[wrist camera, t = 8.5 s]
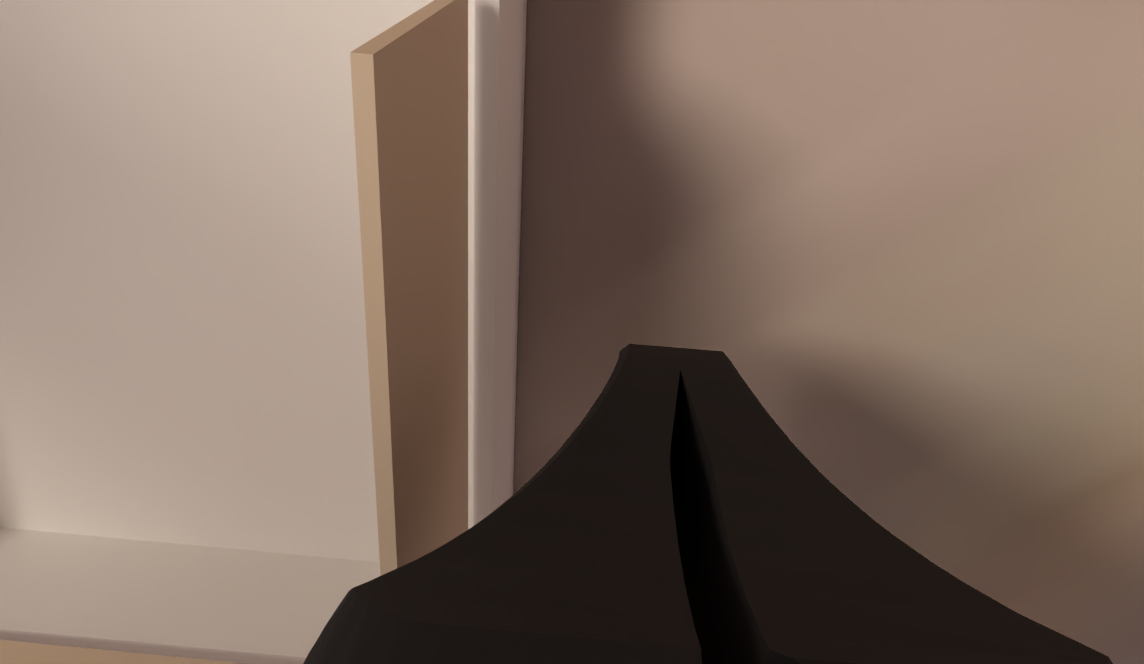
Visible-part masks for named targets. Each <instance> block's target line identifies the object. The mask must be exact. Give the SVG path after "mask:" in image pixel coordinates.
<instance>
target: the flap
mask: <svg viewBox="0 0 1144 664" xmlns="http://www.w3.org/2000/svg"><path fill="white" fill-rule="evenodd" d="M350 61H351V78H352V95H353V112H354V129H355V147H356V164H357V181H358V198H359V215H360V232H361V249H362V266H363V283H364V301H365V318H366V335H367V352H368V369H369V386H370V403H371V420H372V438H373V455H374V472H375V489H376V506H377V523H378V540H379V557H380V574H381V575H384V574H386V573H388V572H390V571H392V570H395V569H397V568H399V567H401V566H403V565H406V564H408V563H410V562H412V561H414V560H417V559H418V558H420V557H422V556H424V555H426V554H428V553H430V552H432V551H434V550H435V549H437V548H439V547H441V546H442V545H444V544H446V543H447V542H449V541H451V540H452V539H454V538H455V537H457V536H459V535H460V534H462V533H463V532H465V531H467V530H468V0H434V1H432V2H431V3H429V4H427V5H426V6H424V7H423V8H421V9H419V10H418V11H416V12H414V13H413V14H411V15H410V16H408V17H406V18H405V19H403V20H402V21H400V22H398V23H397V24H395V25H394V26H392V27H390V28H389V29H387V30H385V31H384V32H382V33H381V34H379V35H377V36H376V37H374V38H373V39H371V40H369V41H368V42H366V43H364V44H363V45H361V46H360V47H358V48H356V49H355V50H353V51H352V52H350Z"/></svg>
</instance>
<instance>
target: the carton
mask: <svg viewBox="0 0 1144 664" xmlns="http://www.w3.org/2000/svg"><path fill="white" fill-rule="evenodd" d="M432 1H434V0H0V640H7V641H17V642H28V643H38V644H48V645H59V646H69V647H80V648H90V649H100V650H111V651H121V652H132V653H142V654H152V655H163V656H173V657H184V658H194V659H204V660H215V661H225V662H236V663H246V664H303V663H304V661H305V659H306V657H307V656H308V654H309V652H310V650H311V649H312V647H313V646H314V644H315V642H316V641H317V639H318V637H319V636H320V634H321V632H322V630H323V629H324V627H325V625H326V624H327V622H328V621H329V619H330V618H331V616H332V615H333V613H334V612H335V610H336V609H337V607H338V606H339V604H340V603H341V601H342V600H343V598H344V597H345V596H346V594H347V593H348V591H349V590H351V589H352V588H353V587H356V586H358V585H361V584H363V583H366V582H368V581H371V580H373V579H375V578H377V577H379V576H381V574H380V557H379V540H378V523H377V506H376V489H375V472H374V455H373V438H372V420H371V403H370V386H369V369H368V352H367V335H366V318H365V301H364V283H363V266H362V249H361V232H360V215H359V198H358V181H357V164H356V147H355V129H354V112H353V95H352V78H351V61H350V52H352V51H353V50H355V49H356V48H358V47H360V46H361V45H363V44H364V43H366V42H368V41H369V40H371V39H373V38H374V37H376V36H377V35H379V34H381V33H382V32H384V31H385V30H387V29H389V28H390V27H392V26H394V25H395V24H397V23H398V22H400V21H402V20H403V19H405V18H406V17H408V16H410V15H411V14H413V13H414V12H416V11H418V10H419V9H421V8H423V7H424V6H426V5H427V4H429V3H431V2H432ZM526 13H527V0H468V529H470V528H471V527H473V526H474V525H476V524H477V523H478V522H480V521H481V520H483V519H484V518H485V517H487V516H488V515H489V514H491V513H492V512H493V511H494V510H496V509H497V508H498V507H499V506H500V505H502V504H503V503H504V502H505V501H506V500H508V499H509V498H510V497H511V496H513V476H514V440H515V405H516V369H517V334H518V298H519V262H520V227H521V191H522V156H523V120H524V84H525V49H526Z"/></svg>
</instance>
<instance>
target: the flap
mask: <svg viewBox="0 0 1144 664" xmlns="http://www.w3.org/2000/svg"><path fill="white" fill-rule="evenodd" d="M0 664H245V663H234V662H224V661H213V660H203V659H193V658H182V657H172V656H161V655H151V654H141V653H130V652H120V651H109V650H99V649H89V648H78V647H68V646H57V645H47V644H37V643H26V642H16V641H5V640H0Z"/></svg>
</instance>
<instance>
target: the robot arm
mask: <svg viewBox="0 0 1144 664" xmlns="http://www.w3.org/2000/svg"><path fill="white" fill-rule="evenodd" d="M303 664H1113V663H1112V662H1111V660H1110V659H1109V657H1108V656H1106V655H1103V654H1101V653H1099V652H1097V651H1095V650H1093V649H1091V648H1089V647H1087V646H1085V645H1083V644H1081V643H1078V642H1076V641H1074V640H1072V639H1070V638H1068V637H1066V636H1064V635H1062V634H1060V633H1058V632H1055V631H1053V630H1051V629H1049V628H1047V627H1045V626H1043V625H1041V624H1039V623H1037V622H1035V621H1033V620H1030V619H1028V618H1026V617H1024V616H1022V615H1020V614H1018V613H1016V612H1015V611H1013V610H1011V609H1009V608H1007V607H1005V606H1004V605H1002V604H1000V603H998V602H997V601H995V600H993V599H992V598H990V597H988V596H986V595H985V594H983V593H981V592H979V591H978V590H976V589H974V588H972V587H971V586H969V585H967V584H965V583H964V582H962V581H960V580H959V579H957V578H956V577H954V576H952V575H951V574H949V573H948V572H946V571H945V570H943V569H941V568H940V567H938V566H937V565H935V564H934V563H932V562H931V561H929V560H928V559H926V558H925V557H923V556H922V555H921V554H919V553H918V552H916V551H915V550H914V549H912V548H911V547H909V546H908V545H906V544H905V543H904V542H902V541H901V540H899V539H898V538H896V537H895V536H894V535H892V534H891V533H890V532H888V531H887V530H886V529H884V528H883V527H882V526H881V525H879V524H878V523H877V522H875V521H874V520H873V519H872V518H870V517H869V516H868V515H867V514H866V513H865V512H863V511H862V510H861V509H860V508H859V507H858V506H856V505H855V504H854V503H853V502H852V501H851V500H849V499H848V498H847V497H846V496H845V495H844V494H842V493H841V492H840V491H839V490H838V489H837V488H836V487H835V486H834V485H833V484H832V483H830V482H829V481H828V480H827V479H826V478H825V477H824V476H823V475H822V474H821V473H820V472H819V471H818V470H817V469H816V468H815V467H814V466H813V465H812V464H811V462H810V461H809V460H808V459H807V458H806V457H805V456H804V455H803V454H802V453H801V452H800V451H799V450H798V449H797V448H796V447H795V445H794V444H793V443H792V442H791V441H790V440H789V438H788V437H787V436H786V435H785V433H784V432H783V431H782V430H781V429H780V427H779V426H778V425H777V424H776V423H775V421H774V420H773V419H772V418H771V416H770V415H769V414H768V413H767V411H766V410H765V409H764V407H763V406H762V405H761V403H760V402H759V401H758V399H757V398H756V397H755V395H754V394H753V393H752V391H751V390H750V388H749V387H748V386H747V384H746V383H745V381H744V380H743V379H742V377H741V376H740V374H739V373H738V371H737V370H736V368H735V367H734V366H733V364H732V363H731V361H730V360H729V359H728V357H727V356H726V355H725V354H724V352H721V351H709V350H697V349H684V348H672V347H660V346H647V345H635V344H629V345H628V346H626V347H625V348H624V349H622V350H621V351H620V354H619V359H618V361H617V364H616V367H615V369H614V371H613V373H612V375H611V377H610V379H609V381H608V382H607V384H606V386H605V388H604V390H603V391H602V393H601V394H600V396H599V397H598V399H597V400H596V402H595V403H594V405H593V406H592V408H591V409H590V411H589V412H588V414H587V415H586V417H585V418H584V419H583V421H582V422H581V424H580V425H579V426H578V427H577V428H576V430H575V431H574V432H573V433H572V435H571V436H570V437H569V438H568V439H567V441H566V442H565V443H564V444H563V446H562V447H561V448H560V449H559V451H558V452H557V453H556V454H555V455H554V456H553V457H552V458H551V459H550V460H549V461H548V463H547V464H546V465H545V466H544V467H543V468H542V469H541V470H540V471H539V472H538V473H537V474H536V475H535V476H534V477H533V478H531V479H530V480H529V481H528V482H527V483H526V484H525V485H524V486H523V487H522V488H521V489H520V490H519V491H517V492H516V493H515V494H514V495H513V496H511V497H510V498H509V499H508V500H506V501H505V502H504V503H503V504H502V505H500V506H499V507H498V508H497V509H496V510H494V511H493V512H492V513H491V514H489V515H488V516H487V517H485V518H484V519H483V520H481V521H480V522H478V523H477V524H476V525H474V526H473V527H471V528H470V529H468V530H467V531H465V532H463V533H462V534H460V535H459V536H457V537H455V538H454V539H452V540H451V541H449V542H447V543H446V544H444V545H442V546H441V547H439V548H437V549H435V550H434V551H432V552H430V553H428V554H426V555H424V556H422V557H420V558H418V559H417V560H414V561H412V562H410V563H408V564H406V565H403V566H401V567H399V568H397V569H395V570H392V571H390V572H388V573H386V574H384V575H381V576H379V577H377V578H375V579H373V580H371V581H368V582H366V583H363V584H361V585H358V586H356V587H353V588H352V589H351V590H349V591H348V593H347V594H346V596H345V597H344V598H343V600H342V601H341V603H340V604H339V606H338V607H337V609H336V610H335V612H334V613H333V615H332V616H331V618H330V619H329V621H328V622H327V624H326V625H325V627H324V629H323V630H322V632H321V634H320V636H319V637H318V639H317V641H316V642H315V644H314V646H313V647H312V649H311V650H310V652H309V654H308V656H307V657H306V659H305V661H304V663H303Z"/></svg>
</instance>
